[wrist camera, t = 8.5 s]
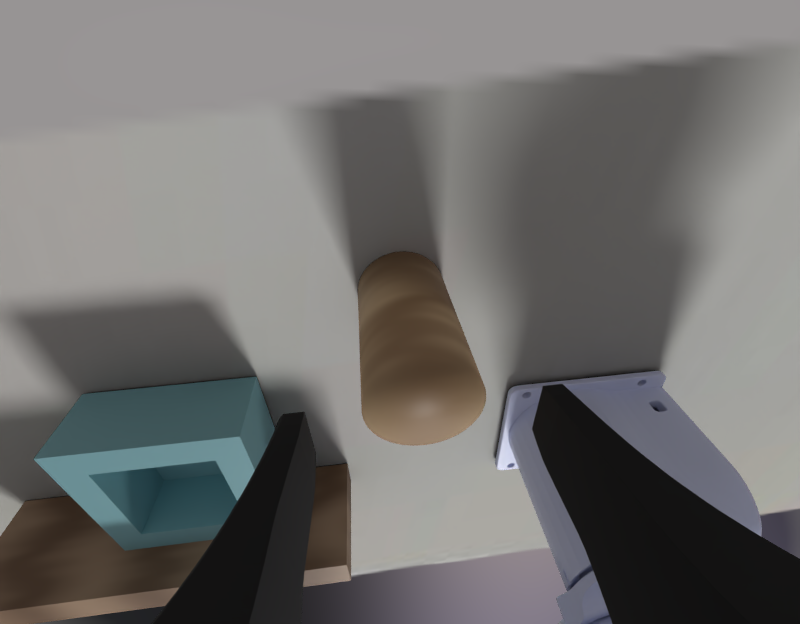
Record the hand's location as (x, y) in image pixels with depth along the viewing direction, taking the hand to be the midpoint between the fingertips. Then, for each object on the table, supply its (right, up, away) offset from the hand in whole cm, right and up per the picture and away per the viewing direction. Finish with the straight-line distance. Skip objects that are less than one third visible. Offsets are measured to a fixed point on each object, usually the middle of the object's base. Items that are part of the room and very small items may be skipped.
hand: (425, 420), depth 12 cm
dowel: (-1, +4, +6) cm, 8 cm away
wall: (-14, -8, +13) cm, 21 cm away
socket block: (-12, -4, +10) cm, 17 cm away
